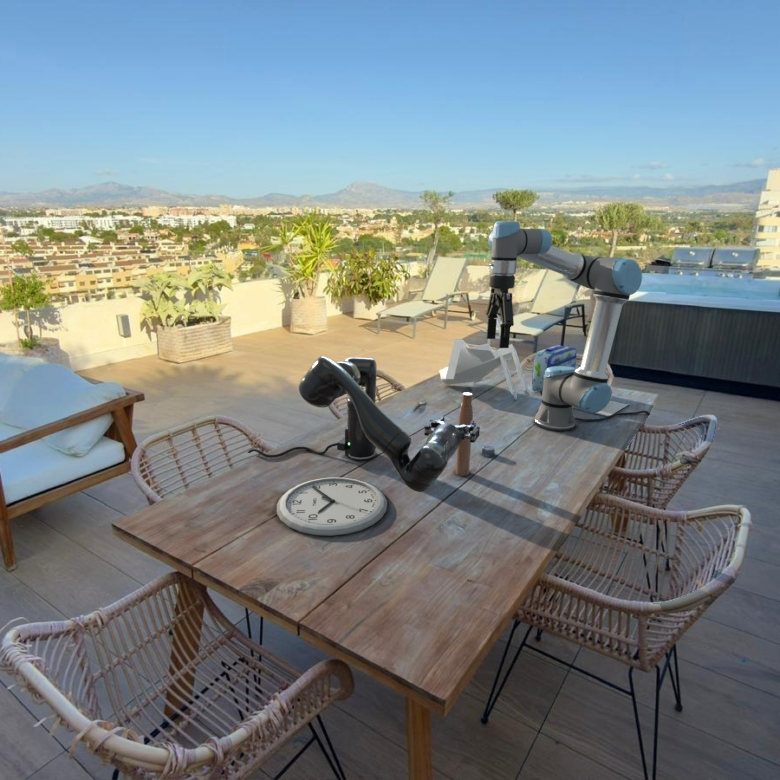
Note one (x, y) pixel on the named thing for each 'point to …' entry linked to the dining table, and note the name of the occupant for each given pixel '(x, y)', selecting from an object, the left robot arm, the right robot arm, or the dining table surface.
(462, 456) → the ringed wooden cylinder
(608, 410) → the invitation card
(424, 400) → the fork
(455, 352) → the white plastic object
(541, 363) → the lunch box
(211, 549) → the dining table surface
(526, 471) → the dining table surface
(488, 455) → the cap
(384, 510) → the wall clock
